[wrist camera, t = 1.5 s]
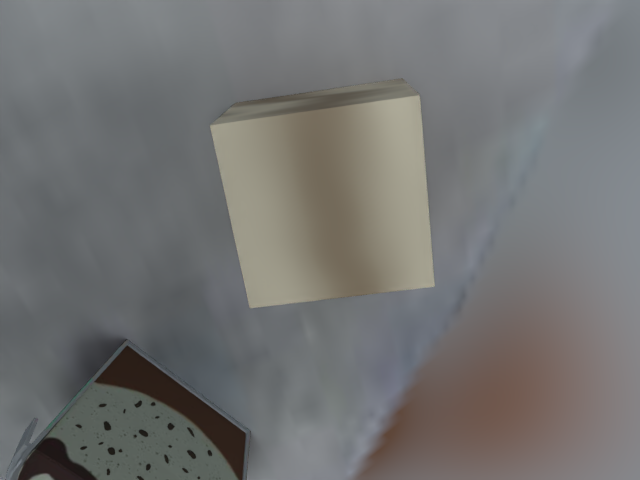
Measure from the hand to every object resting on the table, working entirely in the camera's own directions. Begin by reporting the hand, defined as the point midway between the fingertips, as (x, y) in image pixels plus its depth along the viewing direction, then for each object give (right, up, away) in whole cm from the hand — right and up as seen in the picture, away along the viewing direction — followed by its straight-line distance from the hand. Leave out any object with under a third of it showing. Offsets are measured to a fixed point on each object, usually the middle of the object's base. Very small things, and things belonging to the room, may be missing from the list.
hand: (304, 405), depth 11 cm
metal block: (+1, +7, +17) cm, 19 cm away
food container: (-9, -8, +23) cm, 26 cm away
